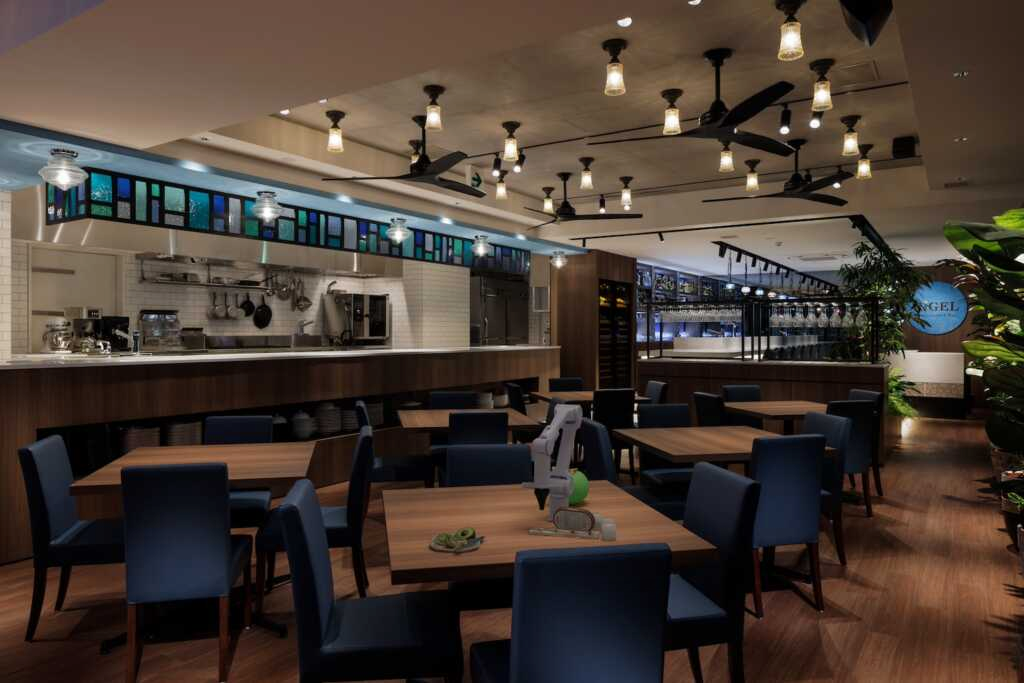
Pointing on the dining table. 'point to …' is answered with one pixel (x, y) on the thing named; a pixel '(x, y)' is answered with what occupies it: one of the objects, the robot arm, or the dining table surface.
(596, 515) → the cylindrical block
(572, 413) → the robot arm
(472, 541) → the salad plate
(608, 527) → the cylindrical block
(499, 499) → the dining table surface
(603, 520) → the cylindrical block
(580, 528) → the tin
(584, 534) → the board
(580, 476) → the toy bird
